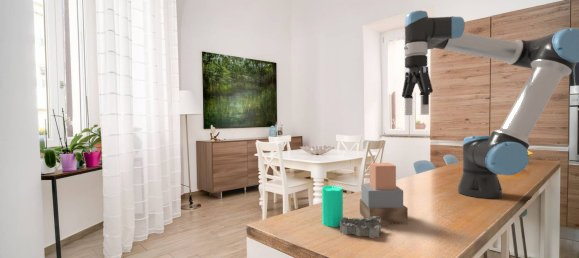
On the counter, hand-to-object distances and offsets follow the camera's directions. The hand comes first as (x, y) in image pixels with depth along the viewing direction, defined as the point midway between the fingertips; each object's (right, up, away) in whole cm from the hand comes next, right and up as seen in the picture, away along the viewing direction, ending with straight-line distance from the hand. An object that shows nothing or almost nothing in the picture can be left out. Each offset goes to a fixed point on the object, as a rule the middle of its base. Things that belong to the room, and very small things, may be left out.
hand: (415, 115), depth 112 cm
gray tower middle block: (-18, -28, -18) cm, 37 cm away
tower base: (-17, -33, -17) cm, 41 cm away
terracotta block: (-18, -23, -18) cm, 34 cm away
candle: (-33, -33, -22) cm, 52 cm away
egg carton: (-27, -33, -29) cm, 51 cm away
